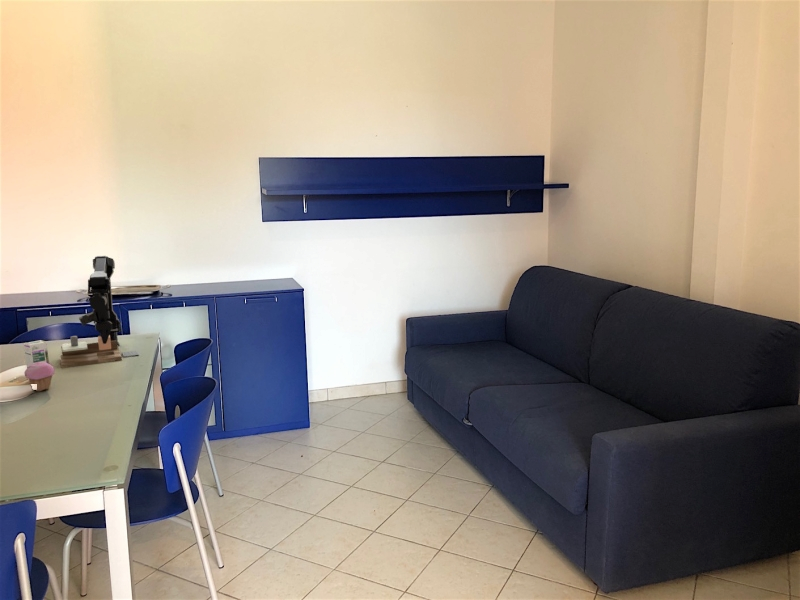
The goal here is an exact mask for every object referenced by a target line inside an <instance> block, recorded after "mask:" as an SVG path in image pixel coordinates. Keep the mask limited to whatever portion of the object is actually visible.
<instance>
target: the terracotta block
mask: <svg viewBox="0 0 800 600" xmlns="http://www.w3.org/2000/svg"><path fill="white" fill-rule="evenodd" d="M97 342H98V344H99V350H106V349H111V340H110V335H109V337H108V340H107V343H106V344H103V341H102V338H101V335H98V336H97Z"/></svg>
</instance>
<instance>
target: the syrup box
mask: <svg viewBox="0 0 800 600" xmlns="http://www.w3.org/2000/svg"><path fill="white" fill-rule="evenodd" d="M47 344H48V343H47V341H45V340H41V339H40V340H35V341H29V342H24V343H23V349H24V357H25V365H26V369H27V368H28V367H29V366H30V365H31V364H33V363H37V362H46V363H48V364H50V360H49V351H48V345H47Z"/></svg>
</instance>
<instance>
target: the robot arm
mask: <svg viewBox="0 0 800 600" xmlns="http://www.w3.org/2000/svg"><path fill="white" fill-rule="evenodd" d="M115 268H116V263H115V260H114V258H112V257H109V256H108V255H96V256H95V257H94V258H93V259H92V269H93V270H94V271H93V272H92V273H91V274H90V275H89V279H87V295H92V297H91V298H90V300H89V306H90V308H91V309H92V312H89V313H86V314H84V315H81V316H79V318H78V321H79V322H80V324H81V325H82V327H84V326H86V325H87V324H90V323H92V322H93V324H94V327H95V328H94V329H95V331H97V332H98V334H100V335H99V336H101V338H102V341H103V344H106V343H107V340H108V337H109V335H110V340H111V341H115V340H117V345H118V346H120V342H119V339H118V333H120V332H122V331H123V330H122V329H123V328H122V322H121V321H120V318H118V315H117V313H116V312H115V311H114V309H113V294H112V293H113V292H112V283H111V278H112V276H113V274H114V272H115V271H114V270H115Z"/></svg>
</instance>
